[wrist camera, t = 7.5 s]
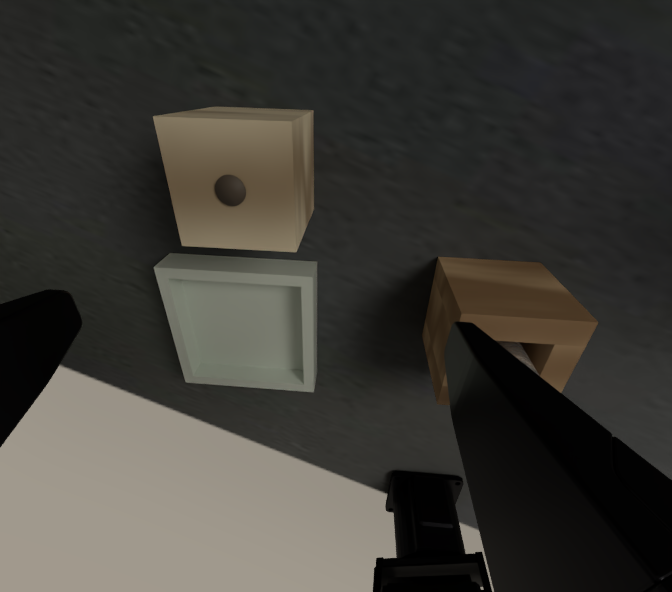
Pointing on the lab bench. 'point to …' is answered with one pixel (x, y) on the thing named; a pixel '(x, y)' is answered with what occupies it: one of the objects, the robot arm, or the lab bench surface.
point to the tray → (242, 319)
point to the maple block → (239, 176)
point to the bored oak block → (506, 315)
